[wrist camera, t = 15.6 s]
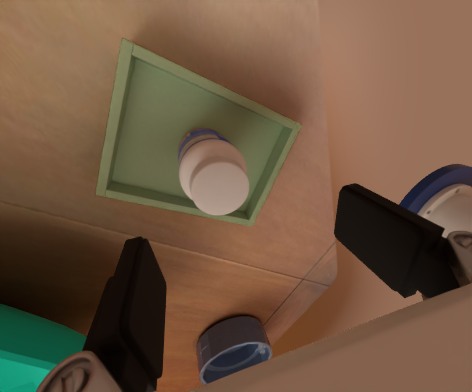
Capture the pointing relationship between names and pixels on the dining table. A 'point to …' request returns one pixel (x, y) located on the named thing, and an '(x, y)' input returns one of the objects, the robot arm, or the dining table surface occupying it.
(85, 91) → the dining table surface
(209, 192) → the pill bottle
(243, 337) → the bowl
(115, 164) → the tray
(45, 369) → the table top decor
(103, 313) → the robot arm
